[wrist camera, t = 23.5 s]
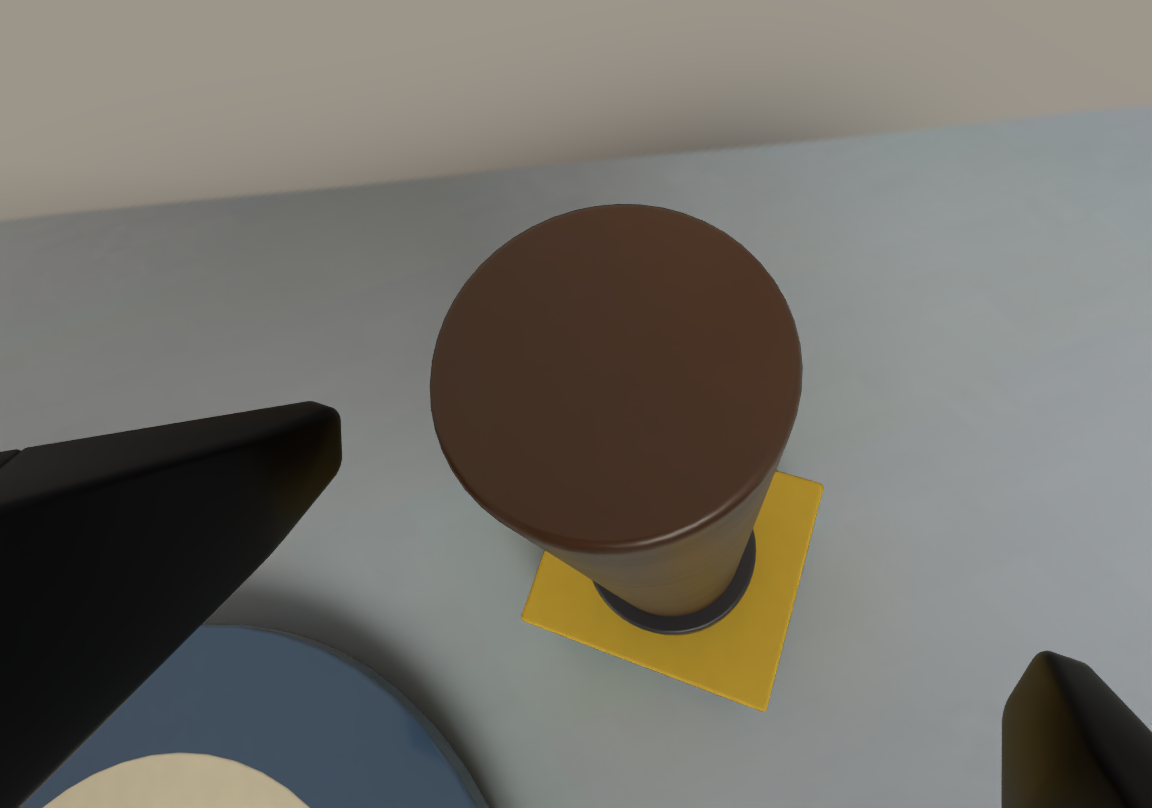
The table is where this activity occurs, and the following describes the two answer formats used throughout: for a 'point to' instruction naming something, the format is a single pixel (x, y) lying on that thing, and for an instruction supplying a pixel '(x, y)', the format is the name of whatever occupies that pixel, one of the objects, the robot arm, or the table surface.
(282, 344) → the table surface
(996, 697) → the table surface
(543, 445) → the sponge wand
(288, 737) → the plate
